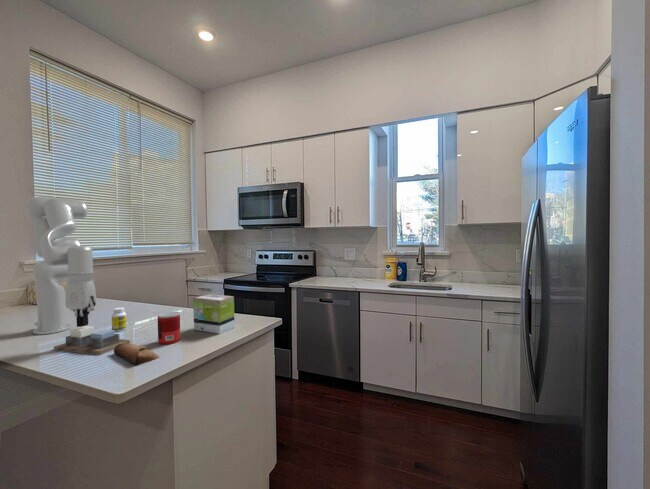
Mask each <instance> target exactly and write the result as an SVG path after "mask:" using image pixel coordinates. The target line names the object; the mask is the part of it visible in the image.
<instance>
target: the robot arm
mask: <svg viewBox="0 0 650 489" xmlns="http://www.w3.org/2000/svg"><path fill="white" fill-rule="evenodd" d="M88 210H89V209H88V207H87V204H86V203H85V202H84V201H83V200H80V199H72V198H60V197H49V196H33V197H29V198H28V199H27V200H26V203H25V211H26V215H27V217H28V219H29V221H30V223H31V225H32V227H33V228H32V229H33V236H34V248H35V252H36V255H37V256H38V257H39V258H43V261H39V262H37V263H35V264H34V265H33V268H32V274H33V279H34V283H35V289H36V308H37V309H36V311H37V321H36V322H34V326H36V328H35V329H33V331H32V334H34V335H49V334H56V333H60V332H63V331H67V330H69V329H71V327H72V326H71V324H70V323H67V312H66V310H67V309H69V310H70V311H72V312H74V316H75V317H76V328H78V327H83V326H89V315H90V313H91V312H93V311H95V306H97V293H96V292H97V291H96V285H95V283H94V262H93V261H94V260H93V259H94V258H93V249H92V247H90V246H87V245H82V244H81V241H80V240H79V239H78V238H77V237H73V236H70V235H72V234H74V233H75V232H76V231H77V227H78V226H77V223H76V221H75V220H76V219H77V220H83V219H85V218H86V217H87V216H88V212H89V211H88ZM63 281H68V282H67V283H66V287H65V288H64V287H63V286H62V285H61V284H59V283H58V282H63ZM66 308H67V309H66Z"/></svg>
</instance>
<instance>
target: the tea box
mask: <svg viewBox="0 0 650 489" xmlns="http://www.w3.org/2000/svg"><path fill="white" fill-rule="evenodd" d="M192 299H193V300H192V302H193V329H194V331H201V332H207V333H213V334H217V335H221V334H223V333H226V332H228V331H229V330H232V329H235V296H232V295H224V294H223V295H221V294H212V293H208V294H205V295H201V296H196V297H193V298H192ZM225 331H226V332H225Z"/></svg>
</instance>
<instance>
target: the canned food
mask: <svg viewBox="0 0 650 489" xmlns="http://www.w3.org/2000/svg"><path fill="white" fill-rule="evenodd" d="M180 340H181V313H180V312H179V311H167V312H163V313H159V314H157V342H158V344H160V345H161V346H162V345H164V346H165V345H167V346H168V345H171V344H172V345H173V344H176V343H178V342H179V341H180Z"/></svg>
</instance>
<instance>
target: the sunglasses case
mask: <svg viewBox="0 0 650 489" xmlns="http://www.w3.org/2000/svg"><path fill="white" fill-rule="evenodd" d="M113 353H114V354H115V355H117V356H120V357H122V358H124V359H125V360H127V361H128V362H131V363H133V365H136V367H137V366H140V365H143V364H147V363H150V362H152V360H153V361H155V360H158V359H160V358H161V357H160V356H159V355H158V354H156V353H155V352H154V351H151V350H149V349H148V348H147V347H146V346H144V345H137V344H135V343H129V344H118V345H117V346H116V347H115V349H114V350H113ZM157 358H158V359H157Z"/></svg>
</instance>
